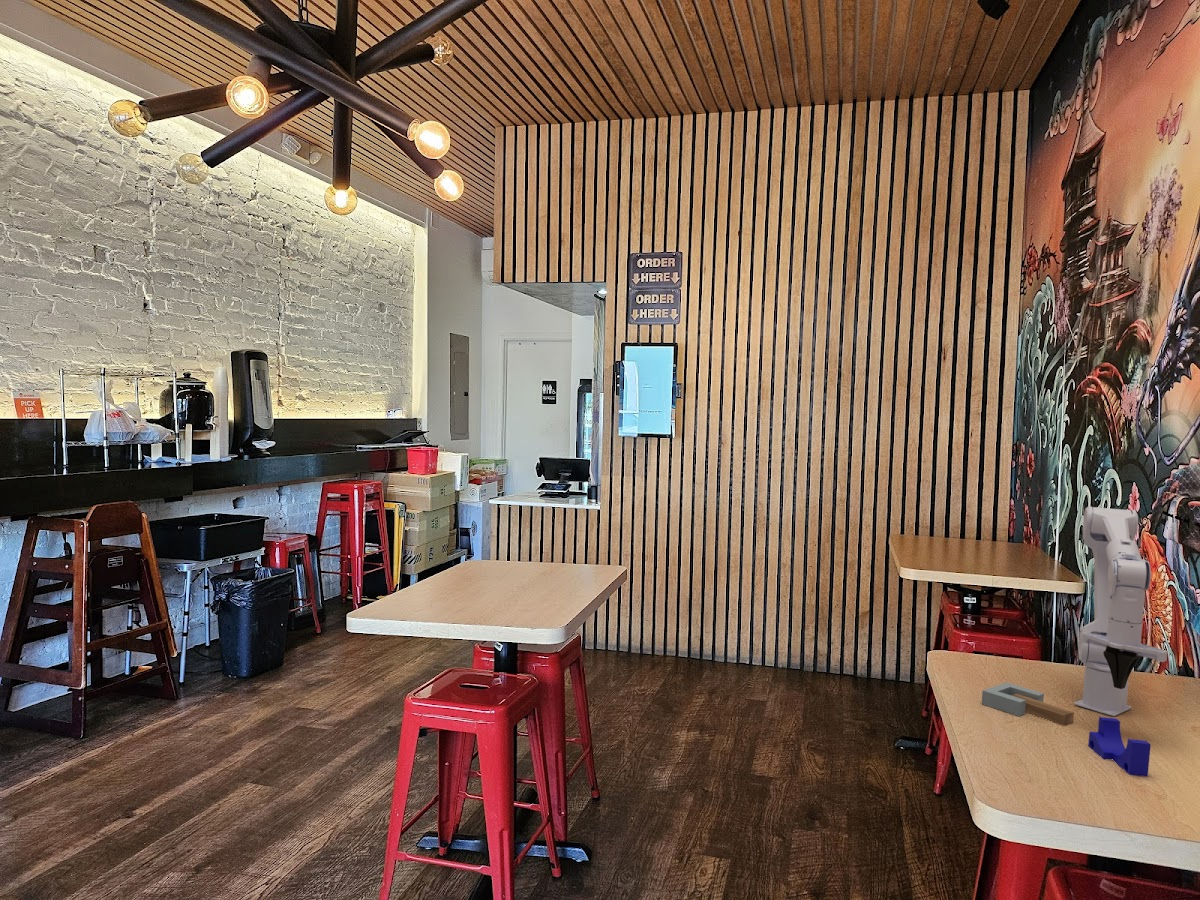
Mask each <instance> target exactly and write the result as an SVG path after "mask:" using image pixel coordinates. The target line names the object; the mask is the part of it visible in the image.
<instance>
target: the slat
mask: <svg viewBox="0 0 1200 900" xmlns="http://www.w3.org/2000/svg"><path fill="white" fill-rule="evenodd" d="M1011 696H1014V697H1017V698H1021V699H1024V700H1026V706H1025V712H1026V713H1025V714H1028V713H1029V715H1030V714H1032V715H1031V716H1033V715H1035V716H1034V717H1036V716H1039V717H1041V718H1040V719H1042V718H1044V719H1043V720H1045V719H1047V720H1046V721H1048V720H1049V721H1048V722H1051V721H1052V723H1054V724H1057V725H1061V726H1064V727H1065V726H1067V725H1070V724H1073V723H1074V721H1075V720H1074V719H1075V711H1071V710H1069V709H1065V708H1063V707H1059V706H1056V705H1053V704H1051V703H1047V702H1045V701H1043V702H1041V701H1038V700H1035V699H1032V698H1029V697H1026V696H1023V695H1020V694H1014V695H1011ZM1039 717H1038V718H1039Z"/></svg>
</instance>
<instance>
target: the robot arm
mask: <svg viewBox="0 0 1200 900" xmlns="http://www.w3.org/2000/svg"><path fill="white" fill-rule="evenodd" d="M1082 520H1083V521H1082V540H1083V544H1084V546H1086V547H1088V549H1089V548H1090V549H1091V551H1092V556H1093V561H1094V562H1093V564H1094V565H1093V566H1094V567H1093V571H1094V574H1093V576H1094V578H1093V579H1094V580H1093V581H1094V583H1093V584H1094V585H1093V586H1094V591H1093V592H1094V594H1093V595H1094V596H1093V597H1094V598H1093V599H1094V603H1093V604H1094V605H1093V607H1094V609H1093V610H1094V612H1093V613H1094V617H1093V618H1094V620H1093V621H1092V622H1089V623H1087V624H1085V625H1084V626H1082V627H1081V629H1080V632H1079V638H1078V639H1079V640H1078V646H1077V647H1078V649H1077V650H1078V659H1079V661H1080V662H1081V663H1083V664H1085V665H1084V674H1083V675H1084V677H1083V678H1084V679H1083V688H1082V689H1083V690H1082V699H1079V700H1076V701H1074V703H1073V704H1074V705H1075V706H1079V707H1082V708H1085V709H1088V710H1092V711H1094V712H1098V713H1102V714H1103V715H1107V716H1108V715H1109V716H1112V717H1115V716H1118V715H1121V714H1123V713H1125V712H1126V711H1129V710H1131V709H1132V706H1131V705H1128V692H1129V677H1130V675H1131V673H1132V671H1133V669H1134V668H1135V666H1136V665H1137V664H1138V662H1139V661H1140V659H1141V658H1142V657H1143V658H1148V659H1152V660H1156V661H1157V662H1161V663H1164V662H1167V660H1168V650H1164V649H1161V648H1157V647H1155V646H1151V645H1148V644H1145V643H1142V631H1143V619H1144V611H1145V610H1144V609H1145V608H1144V607H1145V597H1146V591H1148V590H1149V588H1150V585H1151V580H1152V571H1151V564H1150V562H1149V560H1146V559H1142V556H1141V552H1140V549H1139V545H1137V544H1136V542H1135V541H1134V540H1135V537H1136V535H1137V533H1138V528H1139V515H1138V513H1137V511H1136V510H1135V509H1122V508H1121V509H1119V508H1110V507H1109V508H1106V507H1096V506H1093V507H1092V505H1091V506H1090V505H1088V506H1087V507H1086V508H1085V509H1084V512H1083V519H1082Z"/></svg>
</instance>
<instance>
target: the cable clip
mask: <svg viewBox="0 0 1200 900" xmlns="http://www.w3.org/2000/svg"><path fill="white" fill-rule="evenodd" d="M1151 746H1152V745H1151V743H1150V742H1148V741H1147V740H1142V739H1134V738H1133V739H1131V738H1127V743H1126V746H1125V744H1124V742H1123V739H1122V733H1121V721H1120V720H1119V719H1118V718H1115V717H1104V716H1099V717H1098V727H1097V732H1096V731H1088V745H1087V747H1089V748H1090V749H1091V750H1093V752H1094V753H1096V754H1097V755H1098V756H1099V757H1100V756H1101V757H1102V758H1101V757H1100V758H1101V759H1103V760H1105V759H1113V760H1114V761H1115V762H1116V763H1117V764H1118V765H1117V764H1116V763H1115V762H1114V761H1113V760H1112V761H1113V762H1114V763H1115V764H1116V765H1117V766H1119V768H1121V769H1122V770H1123V769H1124V770H1125V771H1124V770H1123V771H1124V772H1125V773H1127V774H1128V775H1130V776H1139V777H1148V776H1149V766H1150V754H1151Z"/></svg>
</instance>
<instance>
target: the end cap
mask: <svg viewBox="0 0 1200 900" xmlns="http://www.w3.org/2000/svg"><path fill="white" fill-rule="evenodd" d="M1014 694H1020V695H1023V696H1026V697H1029V698H1032V699H1035V700H1038V701H1041V702H1044V696H1045V693H1043V692H1040V691H1037V690H1034V689H1030V688H1027V687H1024V686H1021V685H1018V684H1017V685H1016V684H1013V683H1010V682H1003V683H1001V684H998V685H995V686H992V687H988V688H986V689H982V691H981V705H983V706H985V707H989V708H993V709H995V708H996V709H995V710H998V709H999V711H1001V710H1002V711H1001V712H1004V711H1005V712H1004V713H1007V714H1010V713H1011V715H1014V716H1016V715H1017V716H1016V717H1022V716H1023V714H1024V715H1025V714H1026V713H1025V706H1026V700H1024V699H1021V698H1017V697H1014V696H1011V695H1014ZM1021 715H1022V716H1021Z"/></svg>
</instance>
